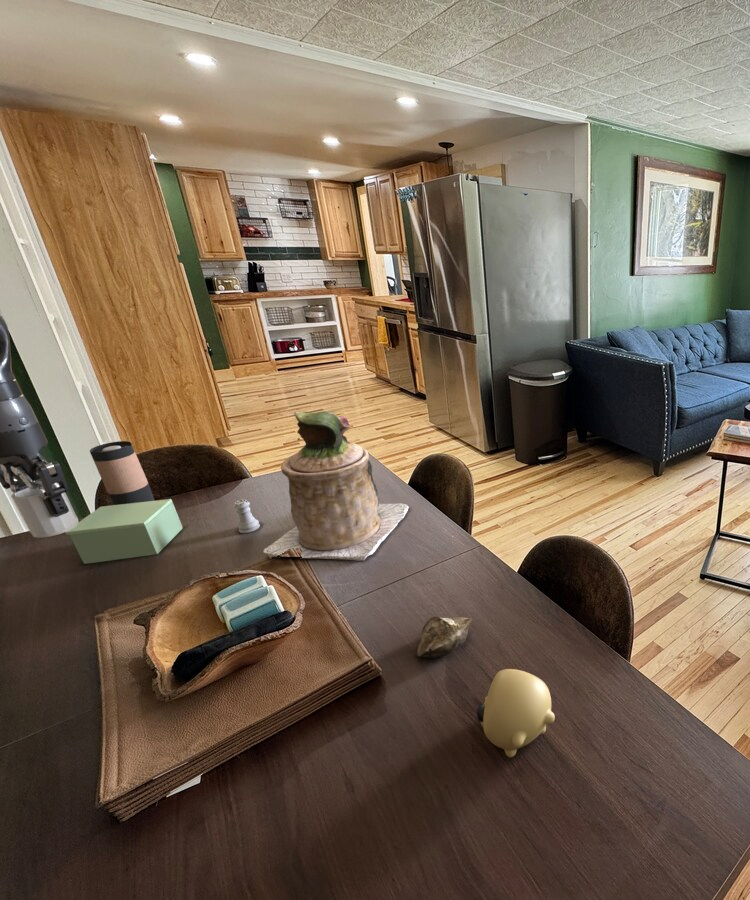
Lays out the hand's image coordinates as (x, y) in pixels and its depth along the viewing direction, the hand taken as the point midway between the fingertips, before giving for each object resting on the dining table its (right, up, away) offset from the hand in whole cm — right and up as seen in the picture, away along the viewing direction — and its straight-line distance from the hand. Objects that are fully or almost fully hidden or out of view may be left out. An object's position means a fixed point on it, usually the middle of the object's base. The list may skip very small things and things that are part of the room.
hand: (47, 511), depth 85 cm
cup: (0, -3, +1) cm, 4 cm away
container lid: (-10, -4, +23) cm, 26 cm away
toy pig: (+88, -30, -16) cm, 94 cm away
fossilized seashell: (+73, -24, -1) cm, 76 cm away
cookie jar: (+36, -10, +32) cm, 49 cm away
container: (-10, -12, +27) cm, 31 cm away
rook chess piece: (+12, -9, +33) cm, 37 cm away
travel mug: (-21, -7, +39) cm, 45 cm away
